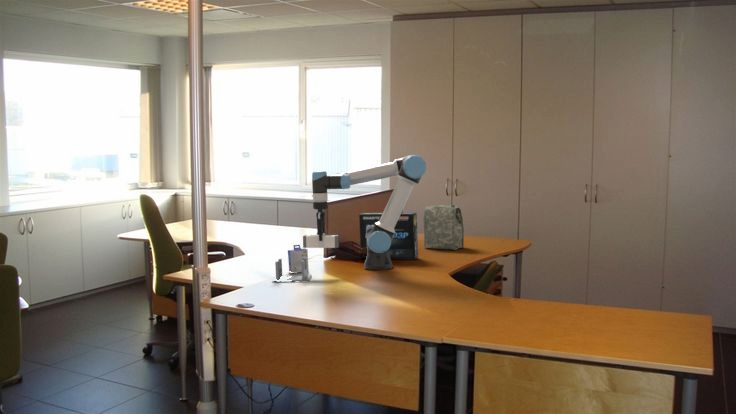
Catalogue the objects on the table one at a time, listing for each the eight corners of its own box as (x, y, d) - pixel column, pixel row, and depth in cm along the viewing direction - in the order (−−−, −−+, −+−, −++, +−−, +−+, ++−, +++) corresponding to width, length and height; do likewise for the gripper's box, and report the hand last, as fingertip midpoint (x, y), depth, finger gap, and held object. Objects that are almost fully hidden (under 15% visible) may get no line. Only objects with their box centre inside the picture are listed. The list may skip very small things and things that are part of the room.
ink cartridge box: (306, 270, 368) (304, 243, 367) (309, 272, 363) (308, 245, 362) (288, 272, 365) (287, 245, 363) (291, 274, 360) (290, 246, 358)
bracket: (311, 276, 349) (310, 257, 349) (308, 281, 338) (307, 261, 337) (276, 277, 351) (275, 258, 350) (272, 282, 339) (271, 262, 338)
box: (360, 258, 400) (358, 213, 398) (365, 256, 407) (363, 212, 405) (414, 260, 388) (413, 213, 385) (419, 258, 395) (417, 212, 392)
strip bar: (338, 246, 355) (338, 234, 354) (337, 247, 351) (337, 235, 350) (304, 246, 356) (304, 234, 355) (303, 247, 352) (302, 235, 351)
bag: (465, 247, 430) (464, 203, 427) (454, 250, 416) (453, 206, 414) (433, 245, 442) (432, 203, 439) (422, 249, 428) (420, 205, 426)
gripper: (315, 200, 360) (317, 244, 362) (310, 202, 343) (312, 249, 345) (329, 199, 359) (331, 243, 361) (325, 202, 342) (326, 248, 344)
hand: (321, 246), depth 353 cm, fingers closed on strip bar, 4 cm apart
